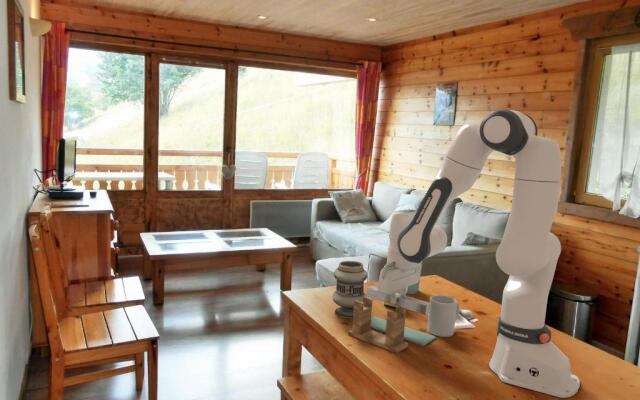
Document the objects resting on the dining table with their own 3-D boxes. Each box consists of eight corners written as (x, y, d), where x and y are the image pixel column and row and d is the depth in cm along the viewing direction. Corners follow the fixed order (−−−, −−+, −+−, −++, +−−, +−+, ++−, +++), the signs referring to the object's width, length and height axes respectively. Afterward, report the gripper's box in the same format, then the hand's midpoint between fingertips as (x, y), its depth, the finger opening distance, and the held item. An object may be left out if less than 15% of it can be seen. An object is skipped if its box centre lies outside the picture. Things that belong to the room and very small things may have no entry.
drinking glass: (395, 292, 197) (397, 263, 195) (395, 285, 206) (397, 257, 205) (420, 295, 195) (423, 266, 193) (419, 287, 205) (422, 260, 203)
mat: (435, 338, 154) (435, 336, 154) (423, 346, 148) (423, 344, 147) (372, 317, 169) (372, 315, 169) (358, 323, 163) (358, 321, 163)
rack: (407, 347, 146) (410, 310, 145) (397, 353, 142) (400, 315, 140) (359, 329, 158) (361, 295, 156) (347, 334, 153) (349, 299, 152)
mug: (441, 339, 154) (444, 305, 152) (421, 329, 161) (424, 297, 159) (466, 332, 160) (469, 299, 159) (447, 323, 167) (449, 292, 166)
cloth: (467, 334, 159) (469, 316, 158) (416, 318, 171) (418, 301, 170) (493, 317, 176) (495, 301, 175) (445, 304, 188) (447, 288, 187)
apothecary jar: (325, 309, 174) (327, 260, 171) (353, 305, 180) (355, 257, 177) (343, 321, 163) (346, 269, 161) (372, 316, 170) (376, 266, 167)
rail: (430, 312, 151) (431, 303, 151) (425, 315, 149) (426, 305, 149) (371, 294, 165) (372, 285, 165) (366, 296, 163) (367, 287, 163)
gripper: (392, 267, 145) (388, 312, 147) (425, 256, 161) (421, 297, 163) (374, 263, 149) (371, 306, 151) (408, 252, 165) (405, 292, 167)
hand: (397, 301), depth 157 cm, fingers closed on rail, 3 cm apart
